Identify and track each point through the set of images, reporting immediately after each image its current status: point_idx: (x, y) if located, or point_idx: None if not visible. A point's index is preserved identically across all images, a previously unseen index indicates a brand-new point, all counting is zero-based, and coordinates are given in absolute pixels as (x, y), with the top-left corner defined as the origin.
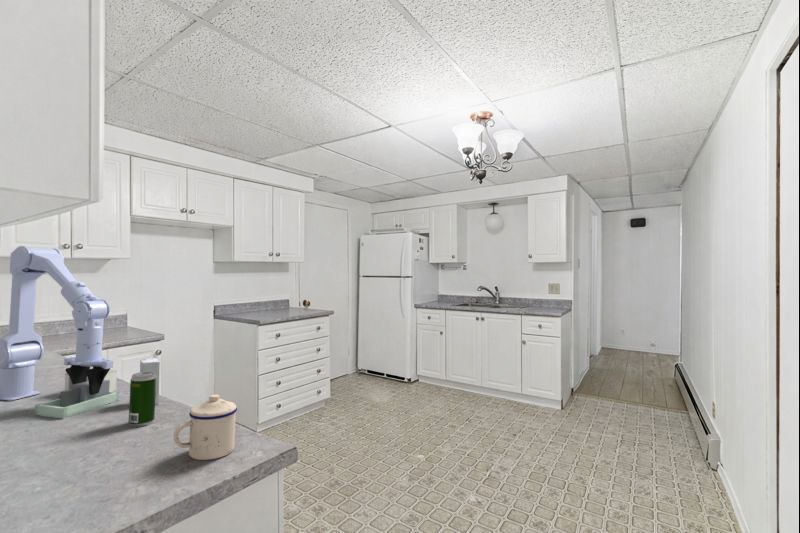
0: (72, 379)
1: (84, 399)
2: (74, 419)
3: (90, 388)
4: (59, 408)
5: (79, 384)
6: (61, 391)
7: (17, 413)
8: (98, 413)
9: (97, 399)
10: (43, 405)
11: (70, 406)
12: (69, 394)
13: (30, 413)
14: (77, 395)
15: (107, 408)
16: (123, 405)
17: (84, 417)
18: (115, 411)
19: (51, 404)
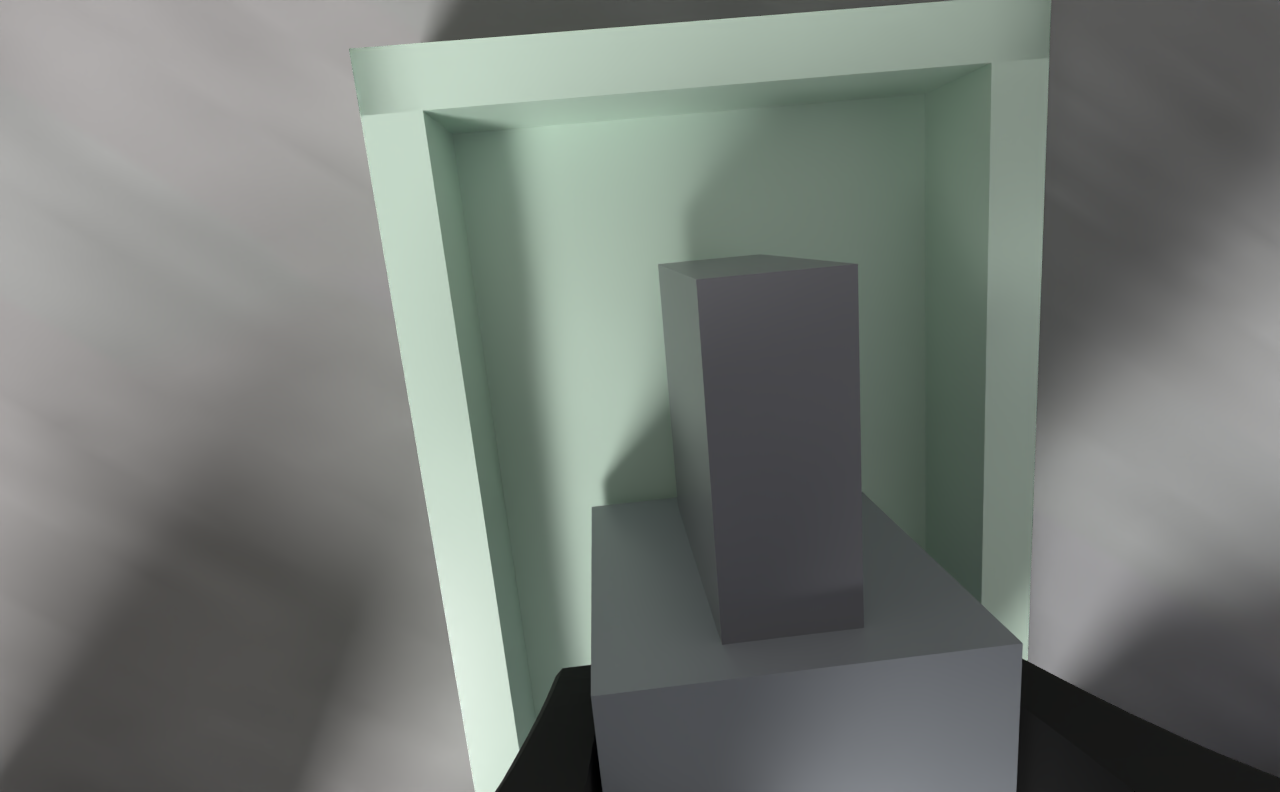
0: (1198, 777)
1: (593, 544)
2: (229, 139)
3: (555, 733)
4: (460, 42)
5: (903, 737)
6: (838, 270)
7: (1255, 3)
8: (209, 444)
9: (455, 650)
10: (895, 37)
11: (383, 188)
12: (688, 365)
13: (1084, 75)
14: (696, 514)
15: (329, 622)
16: (269, 777)
17: (196, 255)
18: (91, 586)
19: (961, 250)
